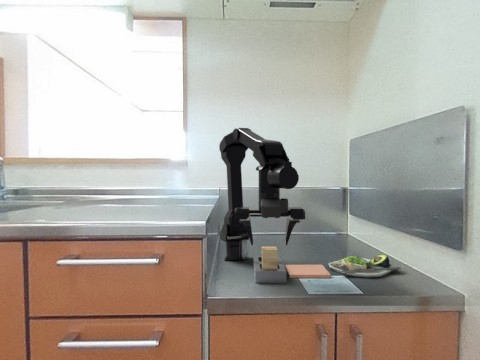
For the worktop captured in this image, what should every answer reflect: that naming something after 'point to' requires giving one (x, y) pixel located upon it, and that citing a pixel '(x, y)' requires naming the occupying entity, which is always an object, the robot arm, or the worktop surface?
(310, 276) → the terracotta tile
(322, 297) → the worktop surface
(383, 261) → the salad plate
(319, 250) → the worktop surface
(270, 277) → the grey slotted holder
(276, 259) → the maple peg
